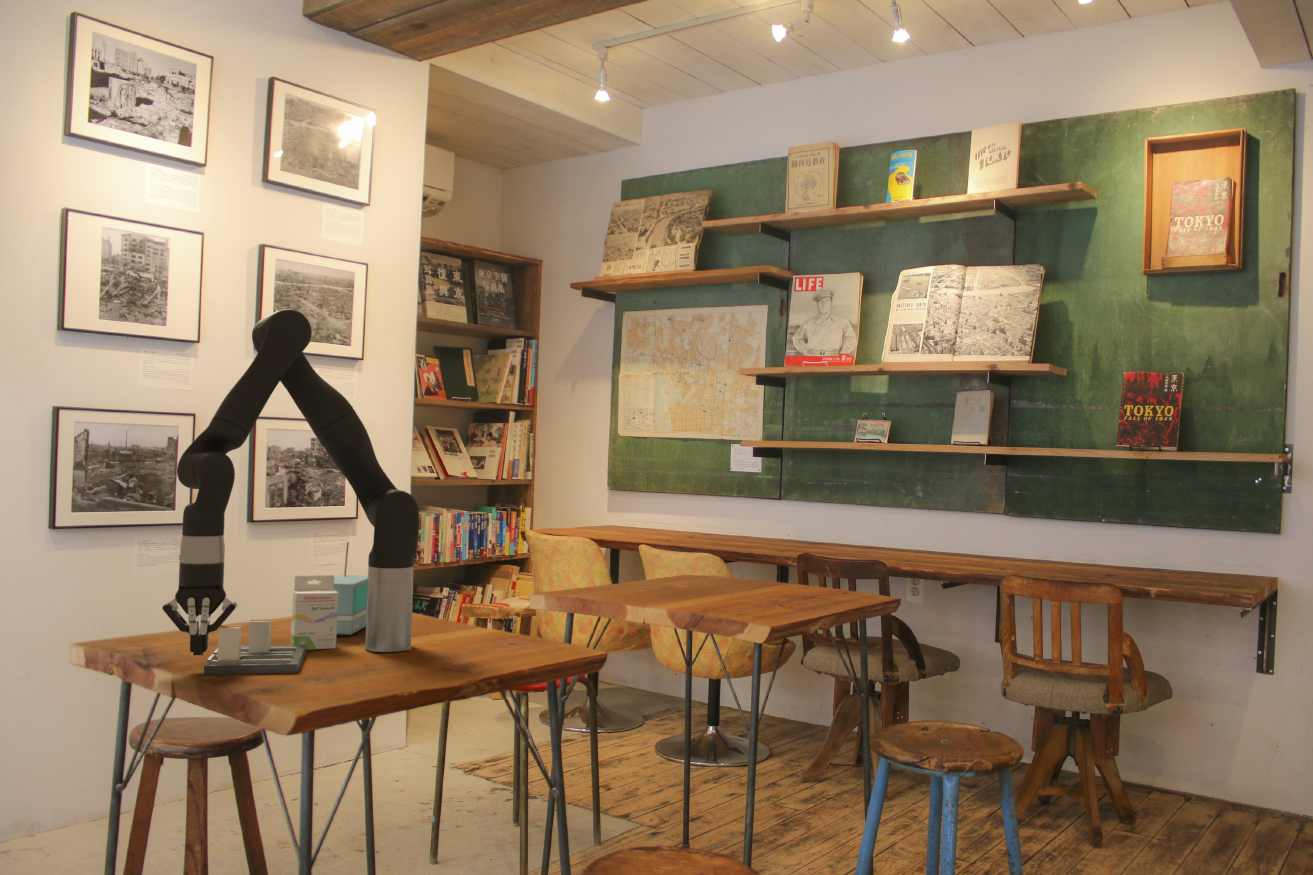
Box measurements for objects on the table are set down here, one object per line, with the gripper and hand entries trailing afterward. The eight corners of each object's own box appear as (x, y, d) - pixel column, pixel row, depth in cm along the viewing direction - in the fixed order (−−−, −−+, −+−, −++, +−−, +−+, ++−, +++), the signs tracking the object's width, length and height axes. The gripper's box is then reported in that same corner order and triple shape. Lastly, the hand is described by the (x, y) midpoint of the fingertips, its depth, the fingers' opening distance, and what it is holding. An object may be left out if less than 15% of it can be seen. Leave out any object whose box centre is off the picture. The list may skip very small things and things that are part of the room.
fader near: (240, 657, 188) (241, 624, 188) (237, 660, 185) (239, 626, 185) (220, 657, 187) (221, 624, 187) (217, 661, 184) (218, 627, 184)
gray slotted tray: (306, 652, 204) (306, 640, 204) (297, 672, 185) (298, 659, 185) (220, 654, 199) (221, 642, 200) (203, 674, 181) (204, 661, 181)
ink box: (293, 650, 205) (296, 578, 206) (289, 646, 210) (292, 575, 210) (337, 648, 209) (339, 577, 210) (332, 644, 214) (335, 574, 214)
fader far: (269, 650, 196) (271, 618, 196) (268, 653, 193) (269, 620, 193) (250, 650, 195) (251, 618, 195) (248, 653, 192) (249, 620, 192)
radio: (356, 638, 222) (359, 547, 222) (315, 637, 222) (319, 546, 222) (377, 626, 237) (380, 541, 238) (339, 625, 237) (342, 540, 238)
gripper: (243, 557, 190) (240, 649, 190) (167, 557, 187) (163, 651, 187) (237, 562, 183) (234, 657, 183) (158, 561, 180) (154, 659, 179)
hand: (198, 654), depth 185 cm, fingers closed
